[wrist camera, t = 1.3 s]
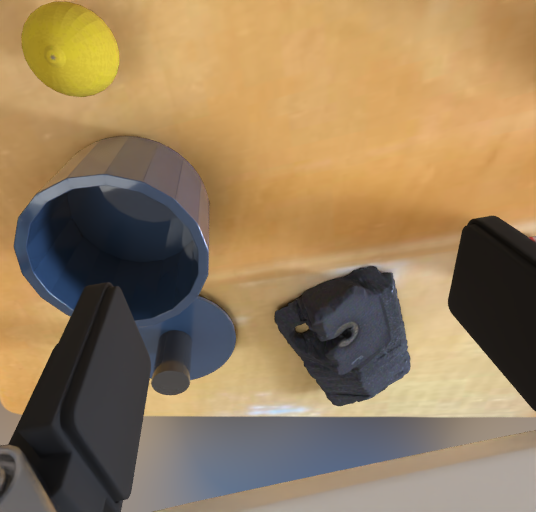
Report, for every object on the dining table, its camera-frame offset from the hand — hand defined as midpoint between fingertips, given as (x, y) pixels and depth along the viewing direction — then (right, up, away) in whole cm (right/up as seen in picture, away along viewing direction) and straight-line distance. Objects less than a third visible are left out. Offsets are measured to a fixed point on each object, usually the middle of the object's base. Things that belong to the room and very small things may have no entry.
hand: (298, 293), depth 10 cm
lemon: (-14, +17, +18) cm, 29 cm away
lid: (-12, -9, +34) cm, 38 cm away
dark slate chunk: (+10, -10, +39) cm, 42 cm away
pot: (-13, +6, +25) cm, 29 cm away
